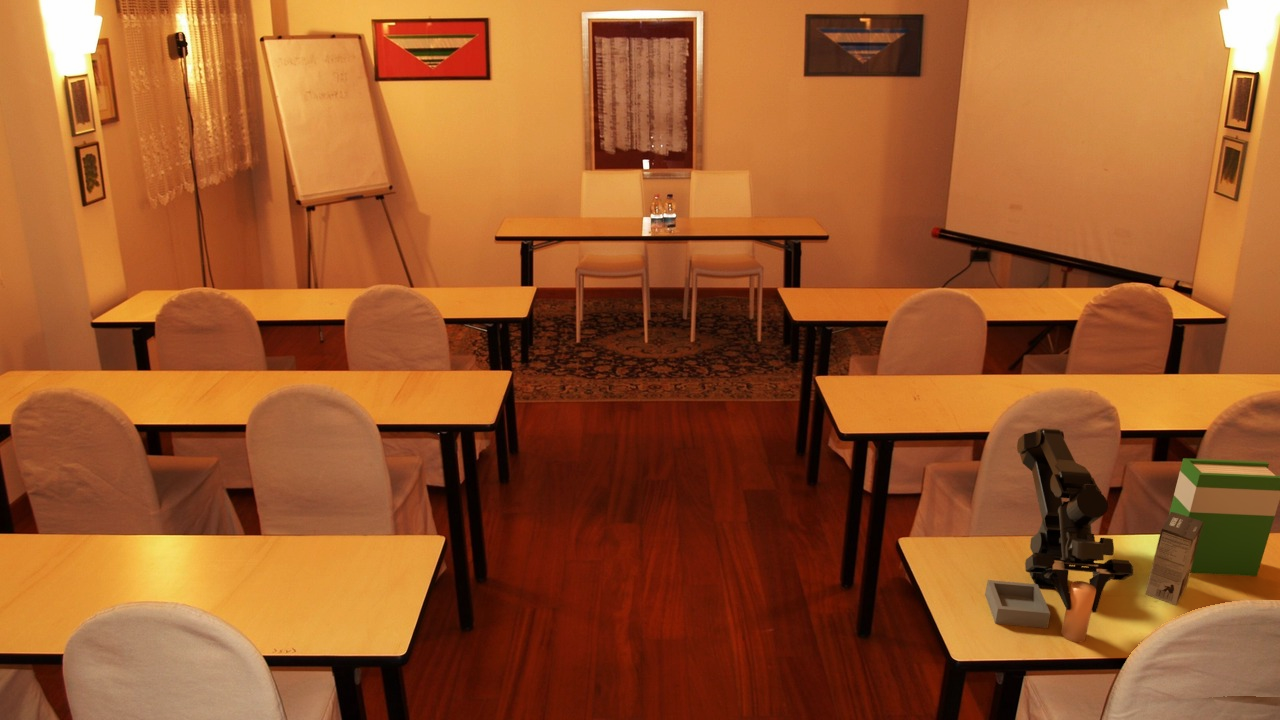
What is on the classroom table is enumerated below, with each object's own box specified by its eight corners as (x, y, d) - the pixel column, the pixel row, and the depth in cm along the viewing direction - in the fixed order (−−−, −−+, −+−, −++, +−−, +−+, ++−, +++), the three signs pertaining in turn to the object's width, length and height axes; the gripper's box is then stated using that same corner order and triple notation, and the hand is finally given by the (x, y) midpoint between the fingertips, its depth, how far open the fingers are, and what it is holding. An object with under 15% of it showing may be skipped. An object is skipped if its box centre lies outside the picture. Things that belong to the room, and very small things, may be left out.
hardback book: (1239, 557, 220) (1266, 461, 212) (1256, 576, 214) (1286, 478, 205) (1159, 553, 221) (1183, 458, 212) (1174, 572, 214) (1199, 474, 205)
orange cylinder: (1081, 629, 194) (1092, 582, 190) (1088, 643, 190) (1099, 595, 186) (1058, 627, 195) (1068, 579, 191) (1064, 640, 191) (1075, 593, 187)
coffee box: (1154, 575, 213) (1171, 510, 207) (1187, 587, 209) (1205, 520, 203) (1143, 594, 206) (1160, 527, 200) (1177, 606, 202) (1195, 538, 196)
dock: (1034, 598, 204) (1037, 584, 202) (1047, 628, 194) (1050, 613, 193) (985, 594, 205) (987, 579, 203) (995, 623, 195) (998, 608, 194)
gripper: (1039, 516, 189) (1044, 598, 182) (1141, 525, 187) (1149, 608, 180) (1022, 531, 199) (1026, 609, 193) (1119, 539, 197) (1126, 618, 191)
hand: (1081, 611), depth 189 cm, fingers closed on orange cylinder, 4 cm apart
